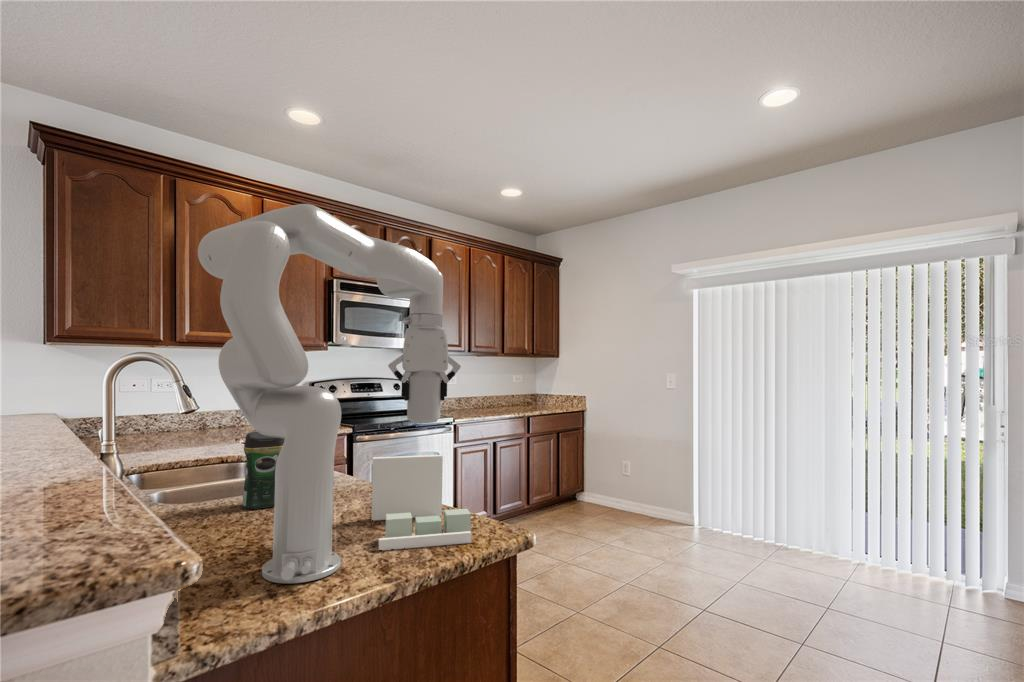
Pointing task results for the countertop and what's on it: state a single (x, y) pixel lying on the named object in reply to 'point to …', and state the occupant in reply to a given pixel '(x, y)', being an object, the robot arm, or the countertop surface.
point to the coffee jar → (260, 470)
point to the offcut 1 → (398, 525)
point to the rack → (410, 497)
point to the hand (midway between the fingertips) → (424, 399)
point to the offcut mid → (428, 525)
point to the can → (424, 397)
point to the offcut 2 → (457, 520)
